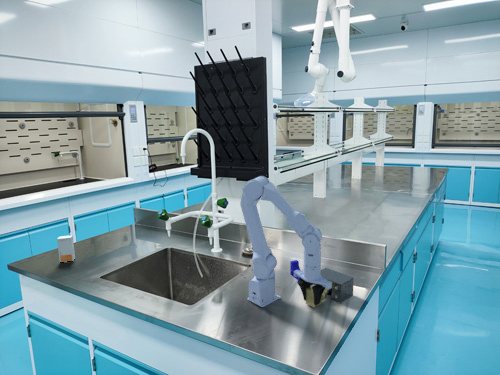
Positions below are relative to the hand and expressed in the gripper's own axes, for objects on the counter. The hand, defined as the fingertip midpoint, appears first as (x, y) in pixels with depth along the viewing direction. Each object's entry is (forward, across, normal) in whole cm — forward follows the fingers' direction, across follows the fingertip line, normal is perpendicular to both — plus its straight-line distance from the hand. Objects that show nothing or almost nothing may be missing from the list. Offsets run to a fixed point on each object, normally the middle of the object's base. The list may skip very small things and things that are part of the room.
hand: (311, 301), depth 119 cm
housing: (+2, 0, -12) cm, 13 cm away
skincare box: (+2, +107, +48) cm, 118 cm away
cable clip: (+2, +15, -14) cm, 21 cm away
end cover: (+1, 0, -4) cm, 4 cm away
